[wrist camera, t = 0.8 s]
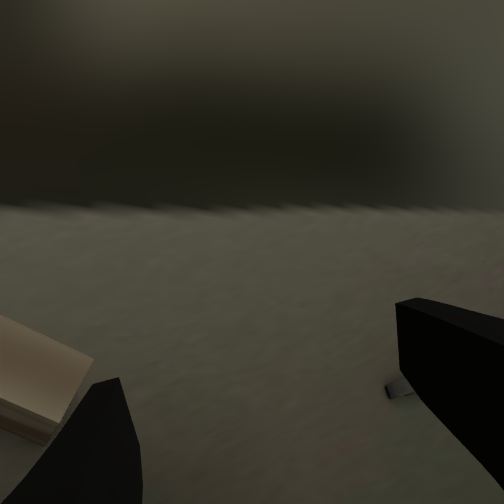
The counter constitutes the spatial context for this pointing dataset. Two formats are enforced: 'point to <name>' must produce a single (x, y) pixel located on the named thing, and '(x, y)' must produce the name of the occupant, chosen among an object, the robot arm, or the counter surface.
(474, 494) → the counter surface
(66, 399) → the cardboard box
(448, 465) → the counter surface
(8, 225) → the counter surface
